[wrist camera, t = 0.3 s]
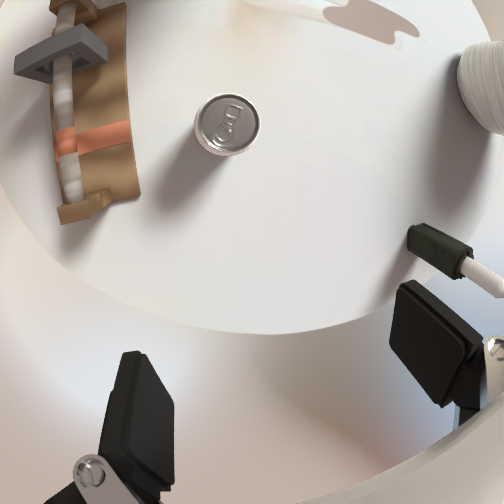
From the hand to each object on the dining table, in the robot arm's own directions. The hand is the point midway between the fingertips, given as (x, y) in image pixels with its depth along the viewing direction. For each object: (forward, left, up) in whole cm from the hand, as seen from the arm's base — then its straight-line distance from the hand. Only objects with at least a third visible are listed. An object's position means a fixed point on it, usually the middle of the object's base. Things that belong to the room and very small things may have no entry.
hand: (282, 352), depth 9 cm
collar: (-22, -17, -27) cm, 39 cm away
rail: (-17, -17, -31) cm, 39 cm away
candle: (+11, +35, -31) cm, 48 cm away
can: (-9, +1, -31) cm, 32 cm away
